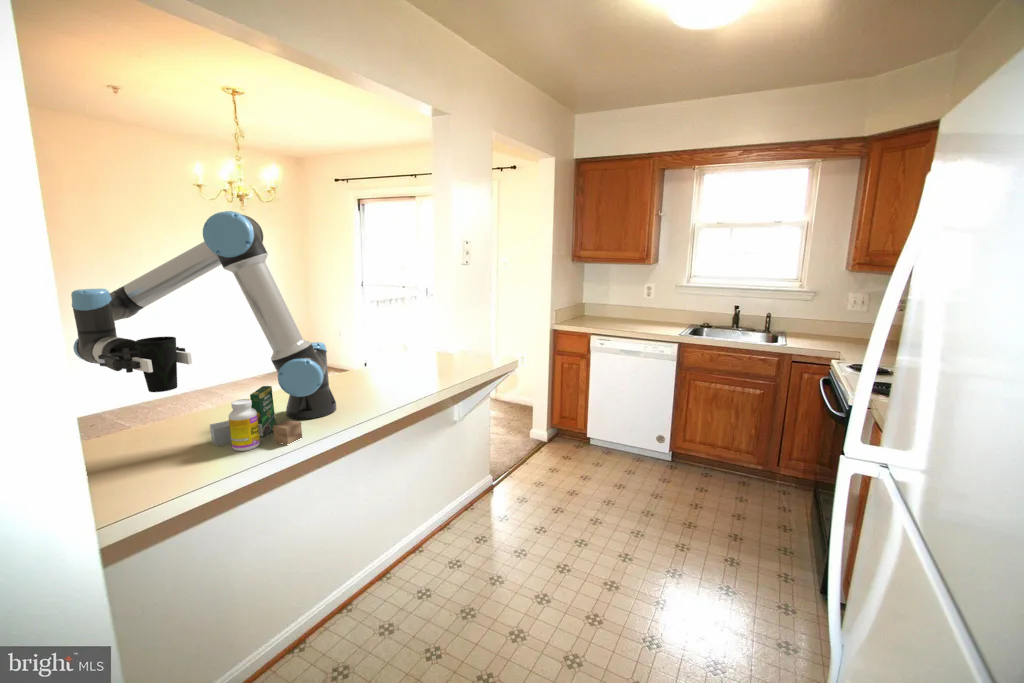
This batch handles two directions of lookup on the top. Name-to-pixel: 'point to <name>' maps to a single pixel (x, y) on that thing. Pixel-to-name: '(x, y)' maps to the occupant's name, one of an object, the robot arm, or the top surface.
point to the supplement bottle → (244, 426)
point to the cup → (159, 362)
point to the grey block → (220, 433)
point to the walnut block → (287, 432)
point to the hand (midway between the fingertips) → (170, 362)
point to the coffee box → (264, 409)
